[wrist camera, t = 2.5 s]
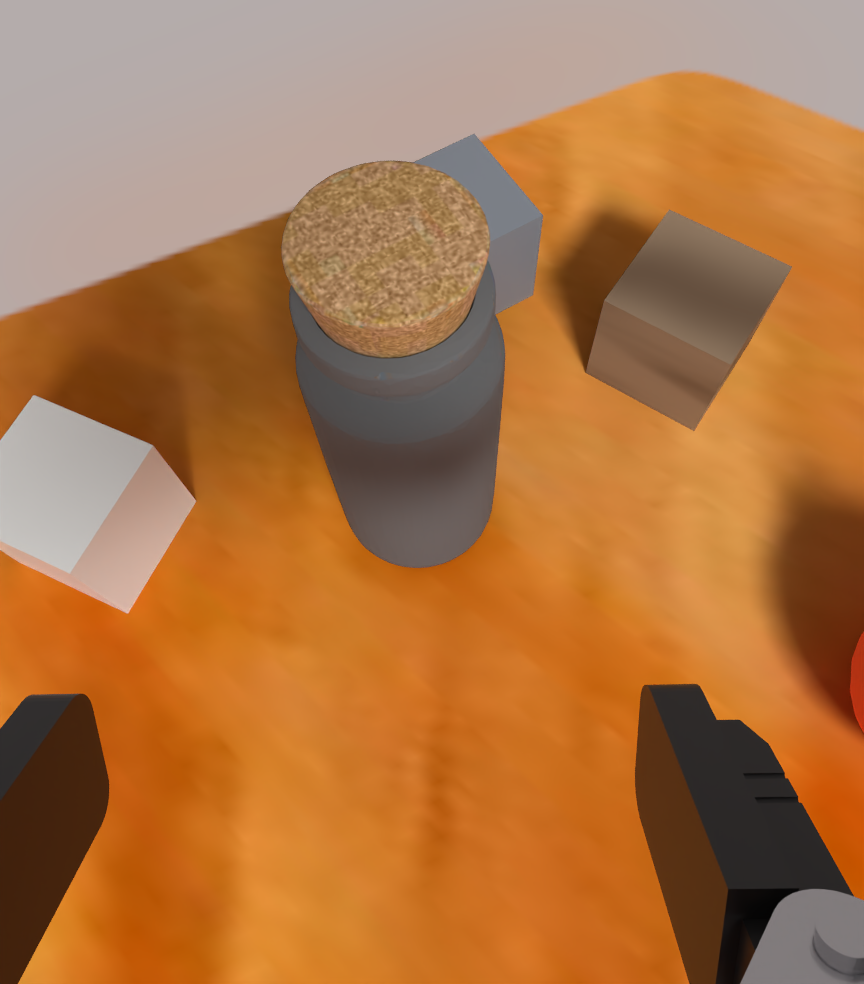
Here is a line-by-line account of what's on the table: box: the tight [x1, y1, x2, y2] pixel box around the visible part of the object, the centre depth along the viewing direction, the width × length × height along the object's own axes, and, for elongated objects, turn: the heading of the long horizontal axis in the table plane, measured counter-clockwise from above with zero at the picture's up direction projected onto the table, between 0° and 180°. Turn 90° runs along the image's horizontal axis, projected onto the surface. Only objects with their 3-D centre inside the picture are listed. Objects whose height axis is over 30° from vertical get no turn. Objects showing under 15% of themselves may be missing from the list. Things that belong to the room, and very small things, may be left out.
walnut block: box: [586, 210, 792, 431], centre depth 32 cm, size 5×5×5 cm
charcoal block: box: [413, 134, 543, 314], centre depth 34 cm, size 5×5×5 cm
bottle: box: [281, 161, 505, 568], centre depth 25 cm, size 6×6×15 cm
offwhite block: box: [0, 395, 196, 614], centre depth 30 cm, size 5×5×5 cm
